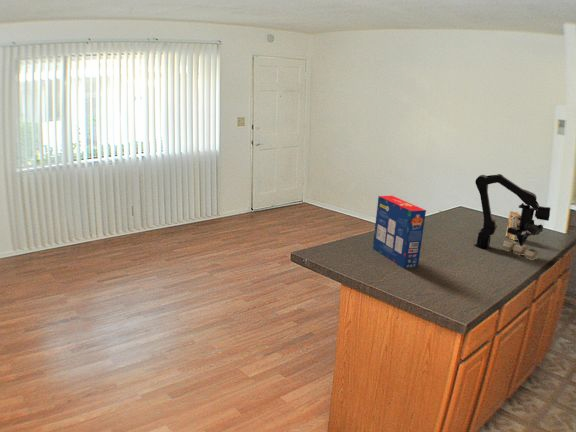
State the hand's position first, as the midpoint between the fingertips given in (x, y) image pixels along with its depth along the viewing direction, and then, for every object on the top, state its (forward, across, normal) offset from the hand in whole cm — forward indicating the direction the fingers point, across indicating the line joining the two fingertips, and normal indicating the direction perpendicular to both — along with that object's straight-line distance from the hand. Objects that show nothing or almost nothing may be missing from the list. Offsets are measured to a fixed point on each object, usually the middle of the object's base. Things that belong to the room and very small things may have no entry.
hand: (521, 245), depth 269 cm
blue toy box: (+5, -70, +16) cm, 72 cm away
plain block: (+5, 0, 0) cm, 5 cm away
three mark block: (+5, 0, -7) cm, 8 cm away
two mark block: (+5, 0, +7) cm, 8 cm away
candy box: (+5, +19, +21) cm, 29 cm away
